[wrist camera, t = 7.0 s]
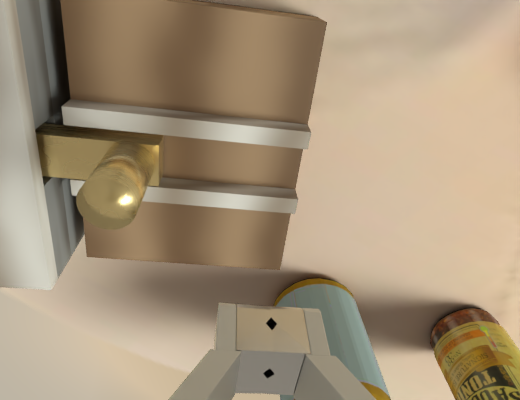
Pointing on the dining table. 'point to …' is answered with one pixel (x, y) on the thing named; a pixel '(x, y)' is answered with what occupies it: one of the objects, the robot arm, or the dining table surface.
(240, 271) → the dining table surface
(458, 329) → the sauce bottle
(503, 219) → the dining table surface
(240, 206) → the door latch block
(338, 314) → the bottle
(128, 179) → the bolt
